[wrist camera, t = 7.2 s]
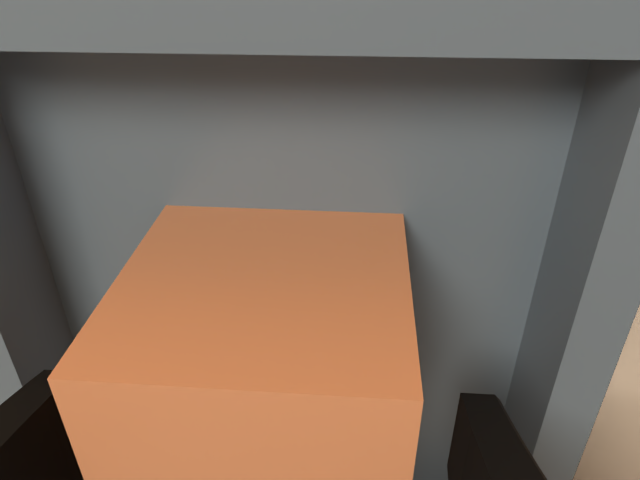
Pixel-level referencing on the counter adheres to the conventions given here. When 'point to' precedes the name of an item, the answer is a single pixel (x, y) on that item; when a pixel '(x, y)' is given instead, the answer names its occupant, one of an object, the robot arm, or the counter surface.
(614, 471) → the counter surface
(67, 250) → the slate tray
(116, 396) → the orange block
